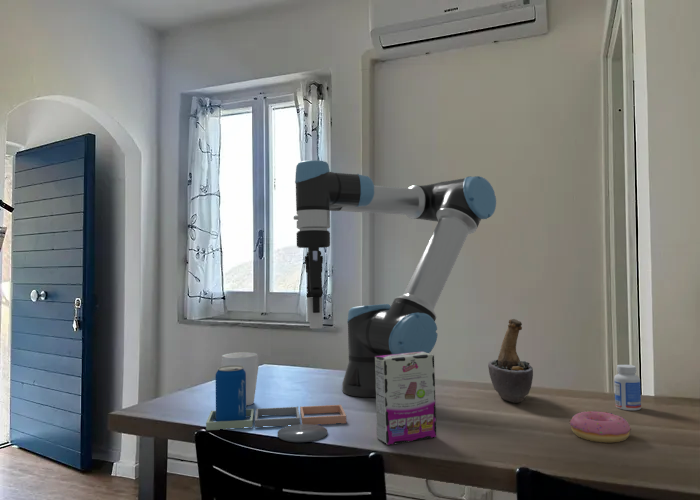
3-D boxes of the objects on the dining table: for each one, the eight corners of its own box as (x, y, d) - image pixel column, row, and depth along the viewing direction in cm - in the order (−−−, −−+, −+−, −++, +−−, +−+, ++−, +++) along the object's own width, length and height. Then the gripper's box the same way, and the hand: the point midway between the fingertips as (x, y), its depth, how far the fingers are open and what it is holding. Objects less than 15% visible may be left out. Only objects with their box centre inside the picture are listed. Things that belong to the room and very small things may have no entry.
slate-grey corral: (298, 413, 129) (297, 406, 129) (299, 425, 119) (299, 418, 119) (256, 415, 127) (256, 408, 128) (254, 427, 118) (254, 420, 118)
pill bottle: (644, 407, 130) (643, 365, 131) (637, 412, 127) (636, 369, 127) (619, 403, 134) (618, 363, 134) (611, 408, 130) (610, 366, 130)
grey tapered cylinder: (250, 408, 134) (250, 358, 134) (215, 407, 136) (215, 357, 136) (264, 399, 143) (263, 352, 143) (230, 398, 144) (230, 351, 145)
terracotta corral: (341, 411, 130) (341, 404, 130) (346, 423, 121) (346, 415, 121) (300, 413, 129) (300, 406, 129) (302, 425, 119) (302, 417, 119)
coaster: (324, 425, 119) (324, 423, 119) (329, 440, 109) (329, 437, 109) (277, 428, 117) (277, 425, 118) (277, 443, 108) (277, 440, 108)
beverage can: (231, 428, 118) (231, 371, 118) (209, 424, 121) (209, 368, 121) (252, 421, 123) (251, 366, 123) (230, 417, 127) (230, 364, 127)
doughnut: (644, 442, 106) (643, 420, 107) (596, 448, 103) (595, 425, 103) (603, 426, 117) (602, 406, 117) (558, 431, 114) (557, 410, 114)
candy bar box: (424, 431, 114) (422, 350, 115) (437, 438, 110) (435, 354, 110) (374, 438, 110) (373, 354, 110) (386, 446, 105) (385, 358, 106)
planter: (524, 410, 129) (522, 323, 129) (465, 398, 142) (463, 319, 142) (556, 399, 139) (555, 319, 139) (498, 389, 151) (497, 314, 152)
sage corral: (253, 415, 127) (253, 408, 127) (252, 428, 118) (252, 420, 118) (211, 417, 126) (211, 410, 126) (206, 430, 117) (206, 422, 117)
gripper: (295, 233, 138) (297, 319, 138) (297, 226, 113) (299, 332, 113) (326, 232, 139) (327, 318, 138) (334, 226, 114) (336, 330, 114)
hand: (314, 324), depth 126 cm, fingers open, 13 cm apart
